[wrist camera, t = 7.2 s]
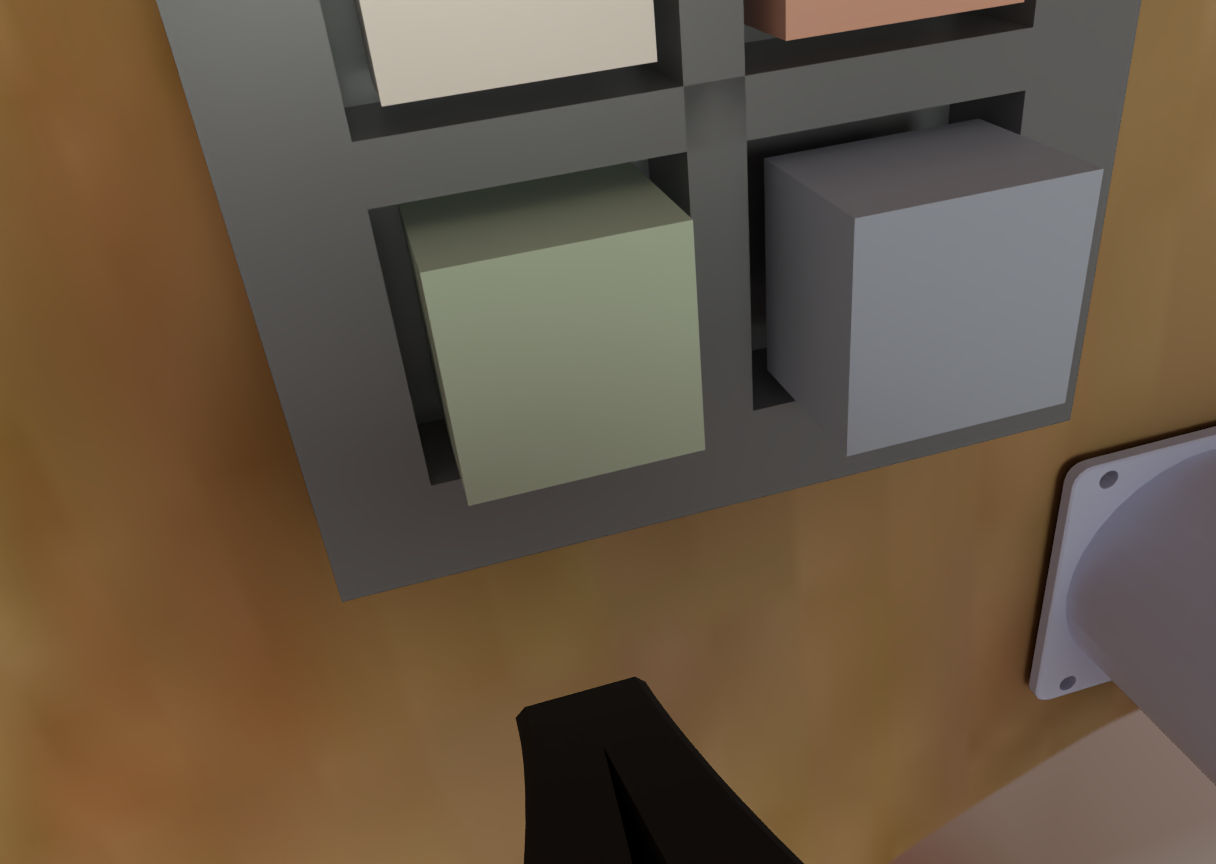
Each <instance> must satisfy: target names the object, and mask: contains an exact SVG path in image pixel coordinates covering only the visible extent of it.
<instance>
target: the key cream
mask: <svg viewBox="0 0 1216 864" xmlns="http://www.w3.org/2000/svg"><path fill="white" fill-rule="evenodd" d="M354 1H355V5H356V10H357V15H358V19H359V24H360V29H361V34H362V38H363V43H364V48H365V52H366V57H367V62H368V66H369V71H370V76H371V79H372V82H373V85H374V87H375V90H376V93H377V95H378V98H379V101H380V103H381V106H389V105H395V104H401V103H407V102H413V101H419V100H425V99H431V98H438V97H444V96H450V95H456V94H462V93H468V92H474V91H480V90H487V89H493V88H499V87H505V86H511V85H517V84H523V83H529V82H536V81H542V80H548V79H554V78H560V77H566V76H572V75H578V74H585V73H591V72H597V71H603V70H609V69H615V68H621V67H628V66H634V65H640V64H646V63H652V62H657V49H656V34H655V19H654V5H653V0H354Z"/></svg>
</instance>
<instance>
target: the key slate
mask: <svg viewBox="0 0 1216 864" xmlns="http://www.w3.org/2000/svg"><path fill="white" fill-rule="evenodd" d="M1103 171H1104V169H1103V168H1101V167H1098V166H1096V165H1093V164H1091V163H1088V162H1086V161H1083V160H1081V159H1078V158H1076V157H1073V156H1071V155H1068V154H1066V153H1064V152H1061V151H1059V150H1056V149H1054V148H1051V147H1049V146H1046V145H1044V144H1041V143H1039V142H1036V141H1034V140H1031V139H1029V138H1026V137H1024V136H1021V135H1019V134H1016V133H1014V132H1011V131H1009V130H1006V129H1004V128H1001V127H999V126H996V125H994V124H991V123H989V122H986V121H984V120H981V119H974V120H968V121H963V122H958V123H952V124H947V125H941V126H936V127H930V128H925V129H920V130H914V131H909V132H903V133H898V134H893V135H887V136H882V137H876V138H871V139H866V140H860V141H855V142H849V143H844V144H839V145H833V146H828V147H822V148H817V149H812V150H806V151H801V152H795V153H790V154H785V155H779V156H774V157H768V158H764V192H765V260H766V328H767V370H768V371H769V372H770V373H771V374H772V376H773V377H774V378H775V379H776V380H777V381H778V382H779V383H780V384H781V385H782V386H783V388H784V389H785V390H786V391H787V392H788V393H789V394H790V395H791V396H792V397H793V398H794V400H795V401H796V402H797V403H798V404H799V405H800V406H801V407H802V408H803V409H804V410H805V412H806V413H807V414H808V415H809V416H810V417H811V418H812V419H813V420H814V421H815V423H816V424H817V425H818V426H819V427H820V428H821V429H822V430H823V431H824V432H825V433H826V435H827V436H828V437H829V438H830V439H831V440H832V441H833V442H834V443H835V444H836V445H837V447H838V448H839V449H840V450H841V451H842V452H843V453H844V454H845V455H846V456H851V455H855V454H859V453H863V452H867V451H871V450H875V449H879V448H884V447H888V446H892V445H896V444H900V443H904V442H908V441H912V440H916V439H920V438H924V437H928V436H932V435H936V434H940V433H945V432H949V431H953V430H957V429H961V428H965V427H969V426H973V425H977V424H981V423H985V422H989V421H993V420H997V419H1001V418H1006V417H1010V416H1014V415H1018V414H1022V413H1026V412H1030V411H1034V410H1038V409H1042V408H1046V407H1050V406H1054V405H1058V404H1062V403H1065V401H1066V395H1067V389H1068V382H1069V376H1070V370H1071V364H1072V358H1073V352H1074V346H1075V340H1076V334H1077V328H1078V322H1079V316H1080V310H1081V304H1082V298H1083V292H1084V286H1085V280H1086V274H1087V267H1088V261H1089V255H1090V249H1091V243H1092V237H1093V231H1094V225H1095V219H1096V213H1097V207H1098V201H1099V195H1100V189H1101V183H1102V177H1103Z"/></svg>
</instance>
